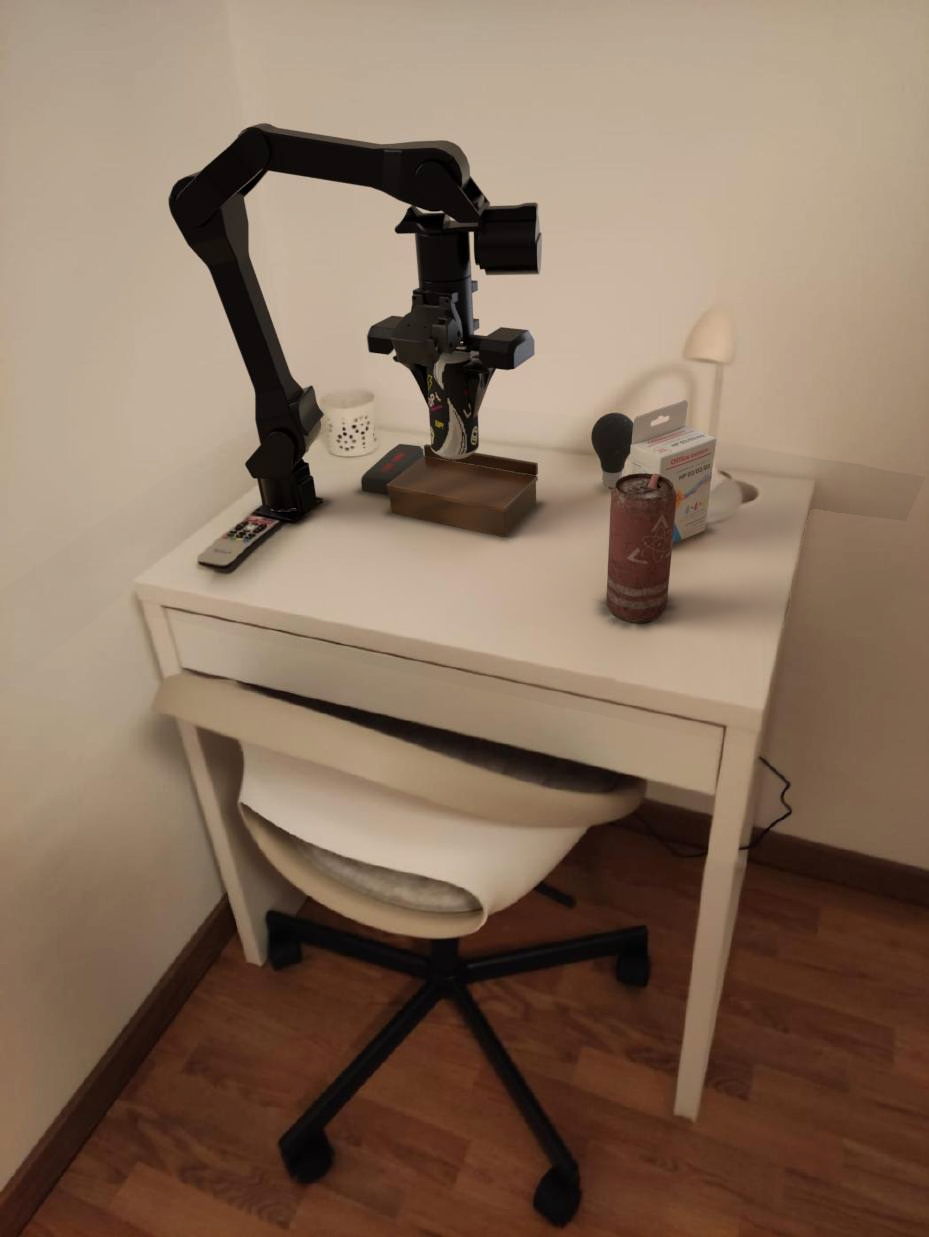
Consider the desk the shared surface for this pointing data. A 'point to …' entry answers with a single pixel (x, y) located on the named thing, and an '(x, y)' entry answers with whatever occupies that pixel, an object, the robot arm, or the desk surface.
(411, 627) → the desk surface
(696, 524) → the ink box
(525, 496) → the step shelf
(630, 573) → the can
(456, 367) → the beverage can
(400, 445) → the usb drive
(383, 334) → the robot arm
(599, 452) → the light bulb
